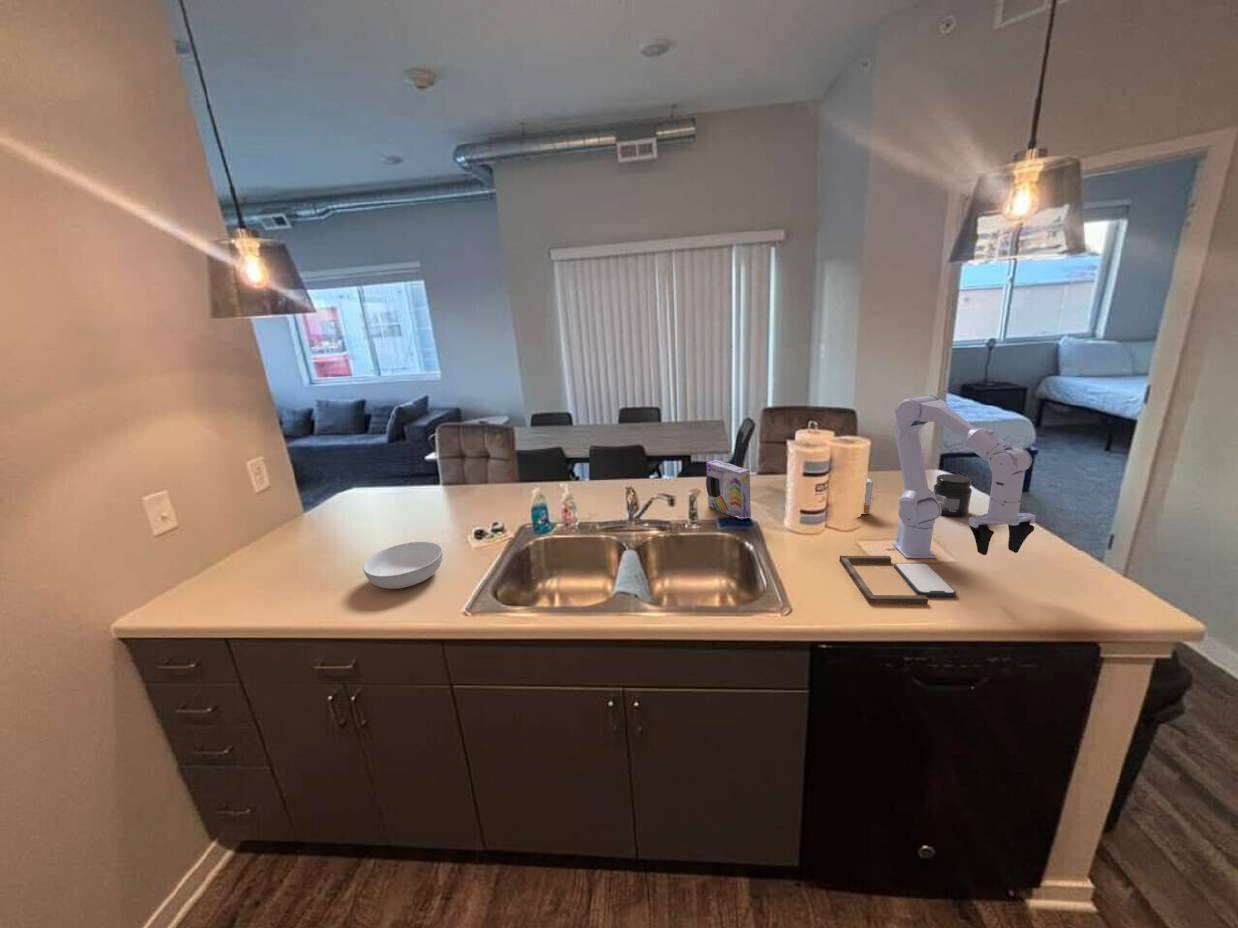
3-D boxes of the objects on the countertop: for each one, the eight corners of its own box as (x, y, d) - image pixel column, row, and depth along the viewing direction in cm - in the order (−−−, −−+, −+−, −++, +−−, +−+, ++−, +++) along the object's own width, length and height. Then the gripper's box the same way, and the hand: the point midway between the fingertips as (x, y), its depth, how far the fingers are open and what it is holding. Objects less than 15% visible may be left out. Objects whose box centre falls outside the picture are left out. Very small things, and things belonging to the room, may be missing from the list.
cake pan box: (705, 506, 184) (704, 460, 179) (715, 503, 186) (715, 457, 181) (740, 522, 168) (741, 472, 163) (751, 519, 170) (752, 469, 165)
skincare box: (851, 515, 168) (853, 481, 165) (847, 510, 172) (850, 477, 169) (870, 515, 167) (873, 481, 164) (866, 510, 171) (868, 477, 168)
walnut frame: (839, 560, 138) (839, 555, 138) (888, 560, 137) (889, 555, 136) (869, 603, 117) (869, 598, 117) (927, 604, 116) (928, 598, 116)
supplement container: (967, 509, 168) (972, 475, 165) (969, 520, 159) (974, 484, 156) (930, 504, 173) (934, 472, 170) (930, 515, 165) (935, 481, 161)
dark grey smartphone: (891, 567, 134) (918, 598, 119) (892, 562, 134) (918, 592, 119) (926, 568, 133) (958, 599, 118) (927, 562, 133) (959, 593, 117)
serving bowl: (371, 570, 148) (366, 550, 146) (444, 556, 155) (441, 536, 153) (363, 605, 129) (358, 582, 127) (447, 587, 136) (443, 564, 134)
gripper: (987, 506, 112) (980, 561, 116) (1050, 502, 113) (1041, 557, 116) (965, 497, 119) (959, 549, 123) (1024, 492, 119) (1016, 544, 123)
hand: (997, 552), depth 120 cm, fingers open, 7 cm apart
